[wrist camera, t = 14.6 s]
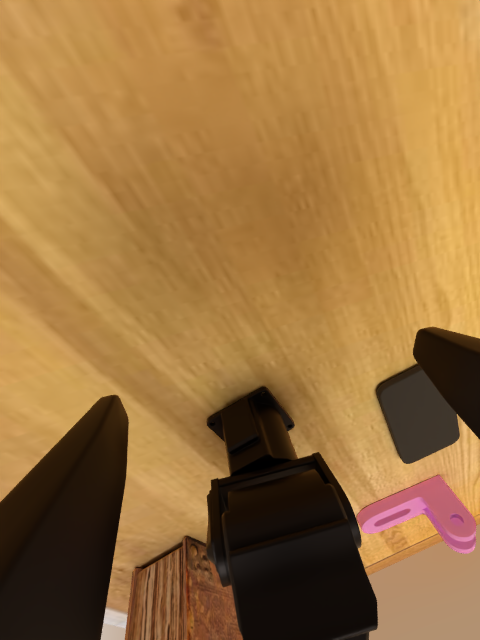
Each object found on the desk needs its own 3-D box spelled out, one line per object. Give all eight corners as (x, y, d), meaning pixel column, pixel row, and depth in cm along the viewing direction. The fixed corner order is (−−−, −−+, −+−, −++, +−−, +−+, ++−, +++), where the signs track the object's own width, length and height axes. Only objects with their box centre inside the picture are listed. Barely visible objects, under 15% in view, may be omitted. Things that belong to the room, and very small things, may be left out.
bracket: (439, 474, 40) (484, 530, 34) (441, 492, 43) (483, 546, 37) (353, 512, 41) (382, 572, 35) (360, 527, 44) (389, 585, 38)
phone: (449, 356, 27) (461, 440, 35) (442, 351, 28) (455, 434, 35) (377, 392, 28) (404, 466, 35) (372, 386, 29) (400, 460, 36)
